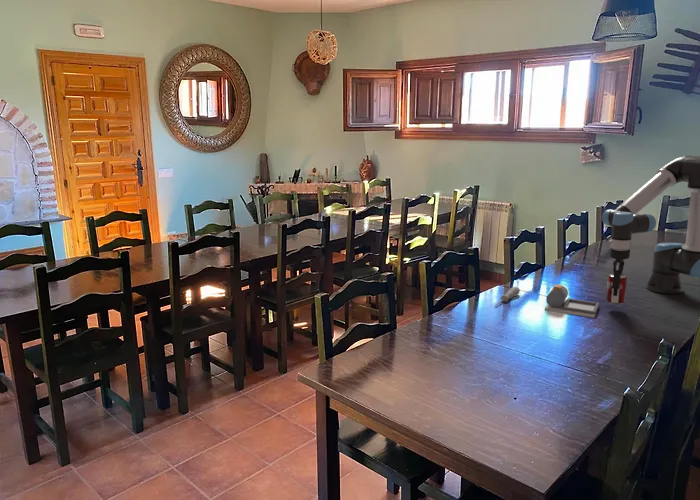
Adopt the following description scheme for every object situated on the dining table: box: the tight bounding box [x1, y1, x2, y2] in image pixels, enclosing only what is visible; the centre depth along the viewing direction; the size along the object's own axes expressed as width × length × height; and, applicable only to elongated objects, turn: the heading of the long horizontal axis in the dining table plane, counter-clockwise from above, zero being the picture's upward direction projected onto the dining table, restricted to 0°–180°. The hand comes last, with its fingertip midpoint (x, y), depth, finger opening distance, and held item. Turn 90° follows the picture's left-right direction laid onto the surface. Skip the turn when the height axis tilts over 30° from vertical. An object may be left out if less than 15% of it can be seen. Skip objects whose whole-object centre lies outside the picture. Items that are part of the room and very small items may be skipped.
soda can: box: [605, 273, 628, 305], centre depth 224 cm, size 7×7×12 cm
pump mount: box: [544, 283, 600, 319], centre depth 229 cm, size 20×16×9 cm
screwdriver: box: [494, 286, 521, 307], centre depth 241 cm, size 5×25×4 cm, turn 139°
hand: (615, 299), depth 225 cm, fingers closed on soda can, 7 cm apart
